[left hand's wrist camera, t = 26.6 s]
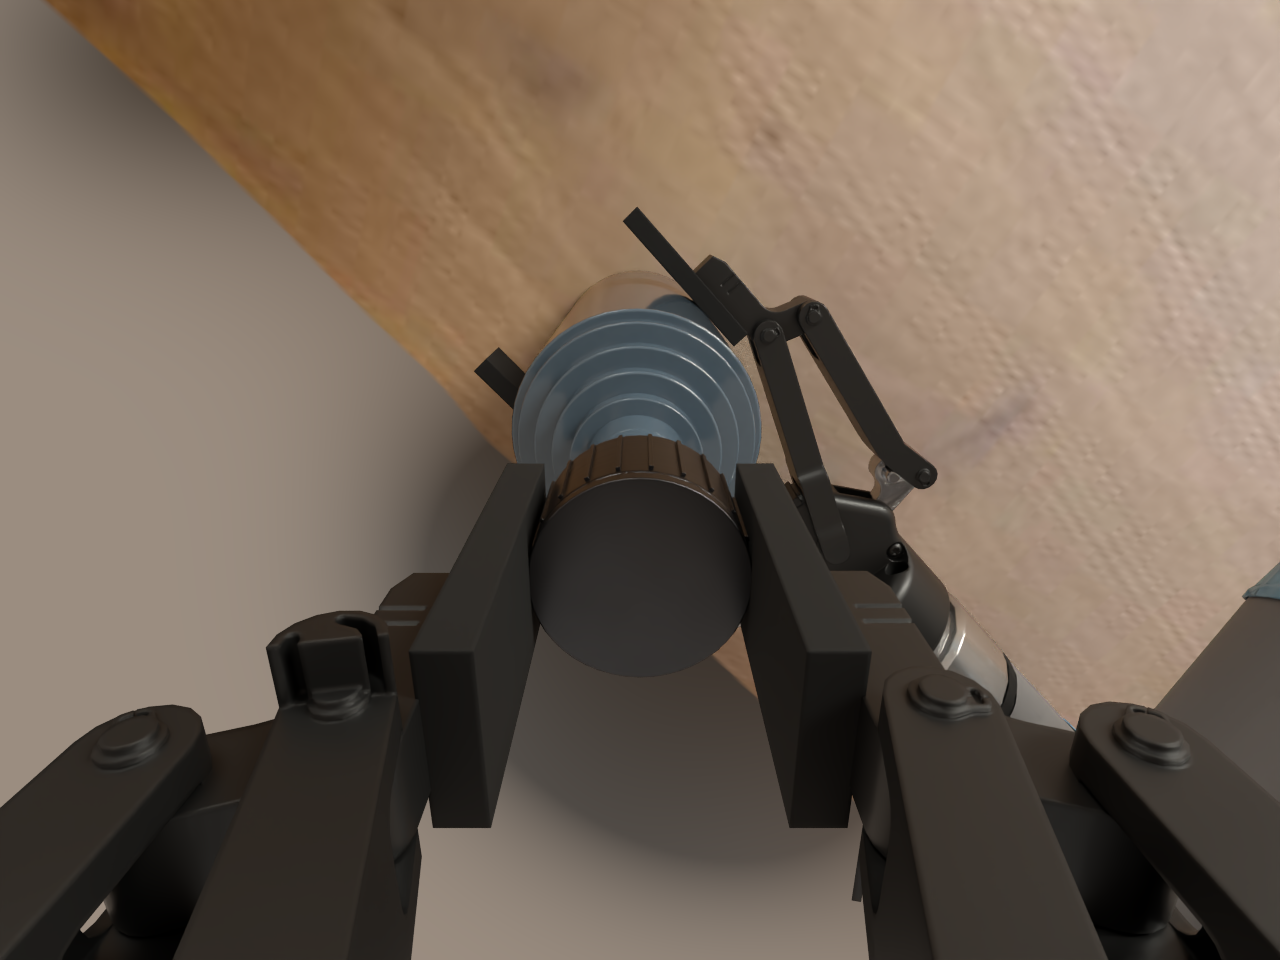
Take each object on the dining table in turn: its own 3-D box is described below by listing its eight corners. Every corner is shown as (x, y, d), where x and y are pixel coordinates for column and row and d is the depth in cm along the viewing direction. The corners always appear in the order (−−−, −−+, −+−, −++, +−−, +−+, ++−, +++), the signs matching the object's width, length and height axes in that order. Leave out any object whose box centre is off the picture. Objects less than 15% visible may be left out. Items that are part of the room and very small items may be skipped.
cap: (504, 540, 15) (479, 601, 12) (622, 390, 14) (619, 427, 11) (655, 642, 16) (657, 716, 13) (778, 509, 14) (805, 565, 12)
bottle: (736, 308, 36) (866, 427, 15) (673, 441, 38) (714, 693, 18) (596, 244, 35) (539, 281, 14) (541, 385, 37) (424, 586, 17)
